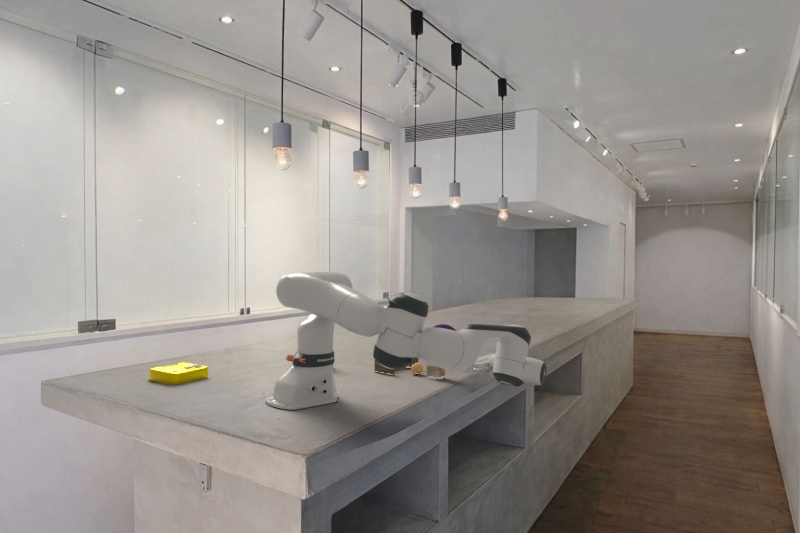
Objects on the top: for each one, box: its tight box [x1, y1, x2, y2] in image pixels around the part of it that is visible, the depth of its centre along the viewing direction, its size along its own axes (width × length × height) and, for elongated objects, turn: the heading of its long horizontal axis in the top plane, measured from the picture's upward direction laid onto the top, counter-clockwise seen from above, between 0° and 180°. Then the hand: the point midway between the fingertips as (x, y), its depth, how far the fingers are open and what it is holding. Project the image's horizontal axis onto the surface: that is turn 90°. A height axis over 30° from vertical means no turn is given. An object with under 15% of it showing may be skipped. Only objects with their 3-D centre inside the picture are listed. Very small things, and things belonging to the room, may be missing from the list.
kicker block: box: [426, 362, 446, 377], centre depth 195 cm, size 4×5×10 cm
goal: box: [374, 357, 419, 375], centre depth 208 cm, size 15×9×6 cm, turn 139°
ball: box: [410, 362, 424, 374], centre depth 201 cm, size 4×4×4 cm
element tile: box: [149, 361, 209, 386], centre depth 191 cm, size 15×15×5 cm
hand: (465, 360), depth 187 cm, fingers open, 8 cm apart
